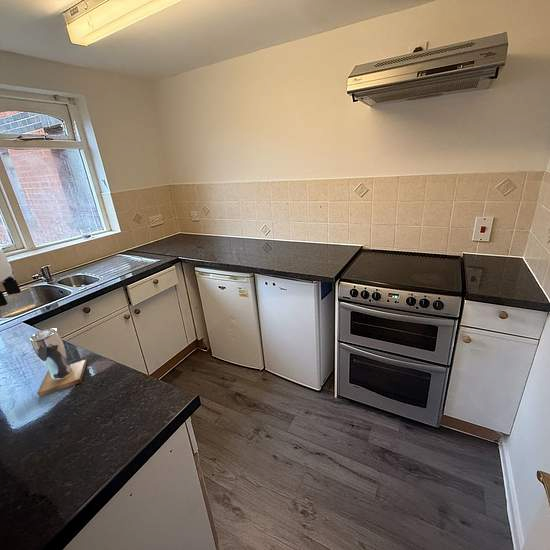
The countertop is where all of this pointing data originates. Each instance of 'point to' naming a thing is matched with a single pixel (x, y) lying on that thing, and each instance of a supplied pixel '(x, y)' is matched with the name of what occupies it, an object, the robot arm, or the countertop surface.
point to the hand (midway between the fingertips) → (8, 299)
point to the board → (73, 379)
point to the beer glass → (52, 353)
